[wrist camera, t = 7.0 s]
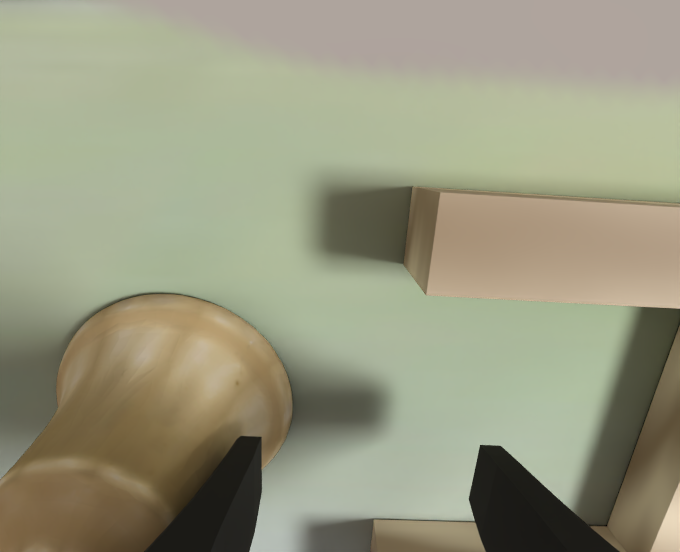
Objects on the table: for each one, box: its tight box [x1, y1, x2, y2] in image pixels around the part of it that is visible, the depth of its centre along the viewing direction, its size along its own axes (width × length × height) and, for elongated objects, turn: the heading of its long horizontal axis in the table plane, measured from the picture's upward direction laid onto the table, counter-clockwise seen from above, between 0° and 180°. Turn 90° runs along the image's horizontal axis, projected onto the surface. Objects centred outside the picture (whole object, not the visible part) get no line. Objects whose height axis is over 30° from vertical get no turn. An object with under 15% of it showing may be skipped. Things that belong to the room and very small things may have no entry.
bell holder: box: [370, 187, 680, 552], centre depth 12 cm, size 16×11×3 cm
